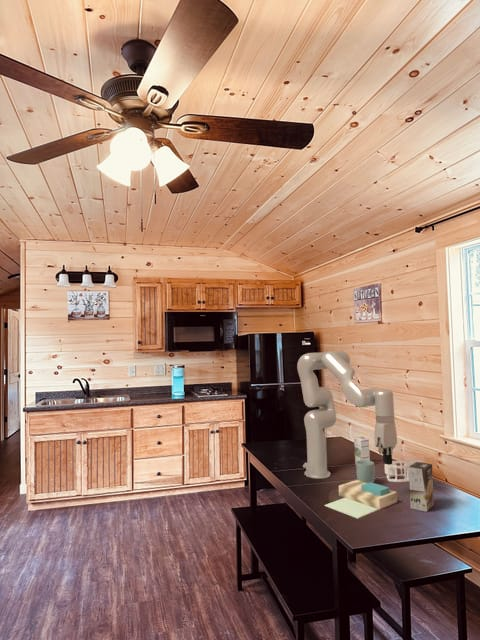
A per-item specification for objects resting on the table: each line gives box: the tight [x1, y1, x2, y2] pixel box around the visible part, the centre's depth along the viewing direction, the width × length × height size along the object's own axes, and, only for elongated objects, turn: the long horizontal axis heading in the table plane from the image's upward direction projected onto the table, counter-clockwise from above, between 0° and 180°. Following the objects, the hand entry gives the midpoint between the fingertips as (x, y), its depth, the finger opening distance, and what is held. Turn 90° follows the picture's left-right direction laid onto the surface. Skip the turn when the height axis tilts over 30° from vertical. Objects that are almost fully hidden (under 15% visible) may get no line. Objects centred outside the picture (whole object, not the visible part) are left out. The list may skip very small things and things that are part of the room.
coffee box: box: [409, 462, 435, 513], centre depth 166 cm, size 9×6×16 cm
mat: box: [324, 497, 379, 519], centre depth 166 cm, size 16×12×1 cm
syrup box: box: [353, 436, 371, 466], centre depth 222 cm, size 6×6×14 cm
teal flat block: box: [361, 482, 390, 496], centre depth 173 cm, size 9×6×2 cm, turn 37°
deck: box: [338, 479, 398, 511], centre depth 176 cm, size 20×12×4 cm, turn 37°
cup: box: [355, 460, 376, 483], centre depth 193 cm, size 8×8×10 cm
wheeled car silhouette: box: [384, 459, 424, 483], centre depth 202 cm, size 20×11×7 cm, turn 97°
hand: (387, 463), depth 178 cm, fingers closed
